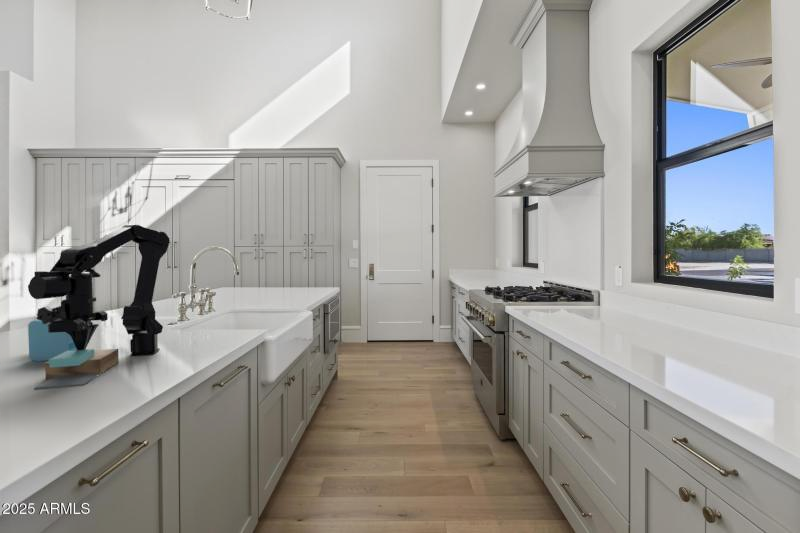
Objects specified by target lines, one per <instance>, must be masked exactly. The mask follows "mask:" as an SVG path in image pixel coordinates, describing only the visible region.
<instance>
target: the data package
mask: <svg viewBox="0 0 800 533" xmlns="http://www.w3.org/2000/svg"><path fill="white" fill-rule="evenodd" d="M50 323H51V322H50ZM50 323H49V322H48V323H46V324H43V323H42V321H41V320H37V319H36V320H31V321H30V322H29V323H28V326H27V329H28V330H27V332H28V335H27V336H28V356H29V359H30V360H31V361H33V362H48V361H49V359H51V358H53V357H56V356H58V355H60V354H62V353H64V352H66V351H71V350H77V349H76V347H75V344H74V342H73V340H72V338H71V336H70V335H69V334H68V333H66V332H53V333H49V332H48V324H50Z"/></svg>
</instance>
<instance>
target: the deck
mask: <svg viewBox="0 0 800 533" xmlns="http://www.w3.org/2000/svg"><path fill="white" fill-rule="evenodd" d="M119 360H120V359H119V348H107V349H94V357H92V358H91V359H89V360H87V361H85V362H84V363H82V364H80V365H78V366H65V367H51V368H50V367H49V361H45V363H44V366H45V368H44V369H45V379H51V378H53V377H55V376H65V375H78V374H91V373H102V372H103V371H105V370H106V369H108V368H109V367H111V366H112V367H114V366H115V365H116V363H117V364H119V362H120V361H119ZM114 364H115V365H114ZM113 365H114V366H113ZM112 367H111V368H112ZM109 369H110V368H109ZM109 369H108V370H109ZM106 371H107V370H106ZM106 371H105V372H106ZM103 373H104V372H103ZM103 373H102V374H103Z"/></svg>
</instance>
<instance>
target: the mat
mask: <svg viewBox="0 0 800 533" xmlns="http://www.w3.org/2000/svg"><path fill="white" fill-rule="evenodd" d="M99 374H100V373H91V374H78V375H65V376H55V377H53V378H48V380H46V381H44V382H41V384H39V385H37V386H34V388H33V390H43V389H53V388H65V387H66V386H68V387H77V386H76V385H80V386H85V385H87V384H88V383H90V382H91V381H93V380H94V379H96V378H97V377H98V376H97V375H99ZM100 375H101V374H100ZM100 375H99V376H100ZM96 376H97V377H96ZM95 377H96V378H95ZM93 378H94V379H93ZM92 379H93V380H92ZM90 380H91V381H90ZM89 381H90V382H89ZM87 382H88V383H87ZM86 383H87V384H86ZM66 388H67V387H66Z"/></svg>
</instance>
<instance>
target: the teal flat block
mask: <svg viewBox="0 0 800 533" xmlns="http://www.w3.org/2000/svg"><path fill="white" fill-rule="evenodd" d="M94 350H95V348H90V349H89V348H88V349H87V348H86V349H85V350H71V351H66V352H64V353H62V354H60V355H58V356H56V357H53V358H51V359H49V367H50V368H51V367H65V366H78V365H80V364H82V363H84V362H85V361H87V360H89V359H91V358H92V357H94Z"/></svg>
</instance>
